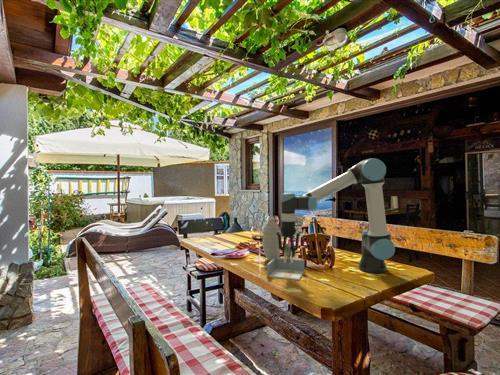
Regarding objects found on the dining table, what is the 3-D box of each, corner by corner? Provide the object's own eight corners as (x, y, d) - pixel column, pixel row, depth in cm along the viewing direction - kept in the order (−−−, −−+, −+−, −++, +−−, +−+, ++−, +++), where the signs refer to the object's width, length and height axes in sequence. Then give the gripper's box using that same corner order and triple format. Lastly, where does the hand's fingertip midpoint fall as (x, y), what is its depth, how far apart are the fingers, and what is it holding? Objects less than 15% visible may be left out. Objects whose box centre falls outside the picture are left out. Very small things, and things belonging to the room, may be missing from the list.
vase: (277, 256, 207) (276, 216, 206) (285, 261, 195) (284, 218, 194) (260, 258, 203) (259, 217, 202) (267, 263, 191) (266, 219, 190)
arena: (304, 271, 173) (304, 259, 172) (299, 280, 159) (298, 267, 159) (274, 268, 179) (274, 257, 179) (267, 276, 165) (266, 264, 165)
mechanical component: (283, 265, 162) (283, 247, 162) (288, 260, 172) (287, 243, 172) (289, 266, 161) (289, 248, 161) (293, 261, 171) (293, 244, 171)
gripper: (303, 220, 166) (304, 261, 167) (276, 219, 172) (276, 259, 173) (301, 222, 159) (301, 265, 160) (272, 221, 165) (273, 262, 166)
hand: (288, 262), depth 167 cm, fingers closed on mechanical component, 3 cm apart
